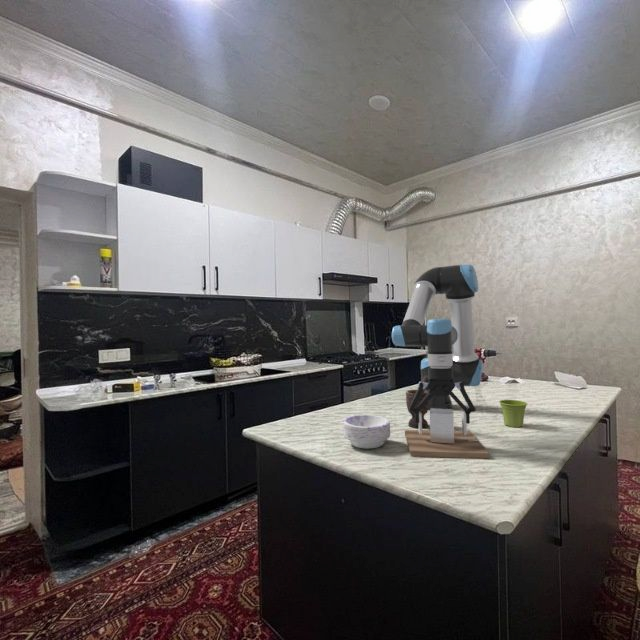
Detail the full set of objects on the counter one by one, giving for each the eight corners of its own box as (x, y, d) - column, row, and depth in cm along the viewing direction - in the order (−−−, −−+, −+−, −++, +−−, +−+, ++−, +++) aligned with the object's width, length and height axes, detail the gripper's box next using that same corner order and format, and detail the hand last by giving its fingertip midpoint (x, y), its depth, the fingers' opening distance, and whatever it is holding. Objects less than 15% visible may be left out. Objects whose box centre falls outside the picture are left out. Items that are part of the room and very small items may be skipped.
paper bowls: (379, 455, 110) (378, 428, 110) (335, 447, 118) (334, 422, 118) (397, 441, 123) (396, 417, 123) (356, 434, 131) (355, 412, 131)
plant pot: (526, 423, 140) (526, 400, 141) (529, 430, 132) (528, 405, 132) (499, 421, 144) (498, 399, 144) (500, 427, 136) (499, 404, 136)
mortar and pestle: (441, 427, 138) (440, 373, 138) (428, 432, 132) (427, 376, 132) (415, 421, 146) (414, 371, 147) (402, 426, 141) (400, 373, 141)
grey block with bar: (454, 443, 113) (453, 414, 114) (430, 441, 116) (429, 413, 116) (453, 433, 124) (452, 406, 124) (431, 432, 126) (431, 405, 126)
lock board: (404, 434, 130) (404, 429, 130) (470, 435, 127) (469, 430, 127) (410, 456, 109) (410, 450, 109) (489, 458, 105) (489, 452, 105)
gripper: (401, 368, 116) (403, 435, 116) (484, 368, 113) (486, 437, 112) (399, 365, 124) (401, 429, 124) (478, 365, 120) (480, 430, 120)
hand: (442, 433), depth 118 cm, fingers open, 13 cm apart
